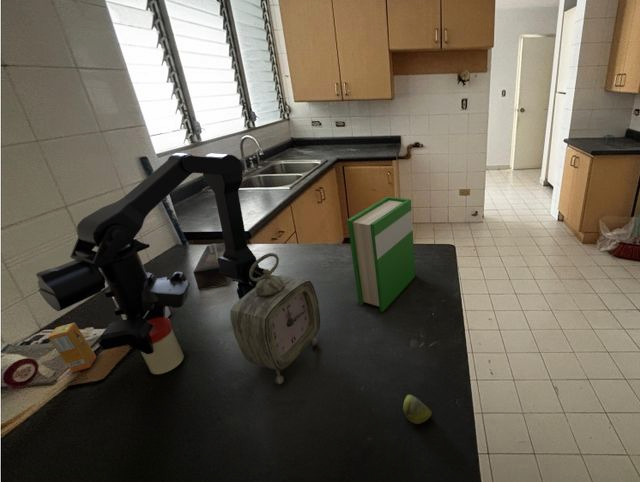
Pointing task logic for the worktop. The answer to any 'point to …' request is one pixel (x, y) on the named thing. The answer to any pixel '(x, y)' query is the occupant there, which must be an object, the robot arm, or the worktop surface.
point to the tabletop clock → (276, 319)
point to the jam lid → (160, 328)
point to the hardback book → (382, 250)
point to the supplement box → (72, 347)
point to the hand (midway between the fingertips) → (156, 342)
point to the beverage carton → (210, 268)
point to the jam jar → (164, 355)
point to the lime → (415, 410)
